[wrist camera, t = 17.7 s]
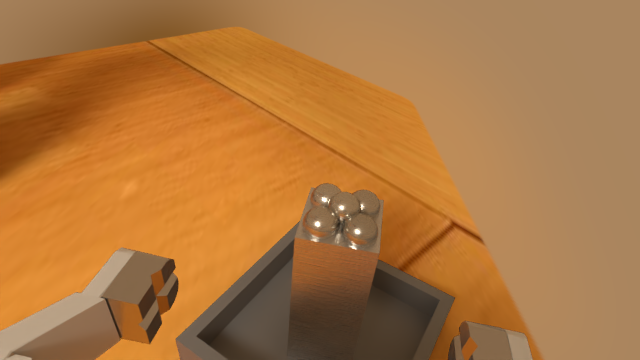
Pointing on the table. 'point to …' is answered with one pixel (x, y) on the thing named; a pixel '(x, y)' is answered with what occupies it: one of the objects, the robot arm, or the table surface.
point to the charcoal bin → (274, 310)
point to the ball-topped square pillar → (333, 272)
